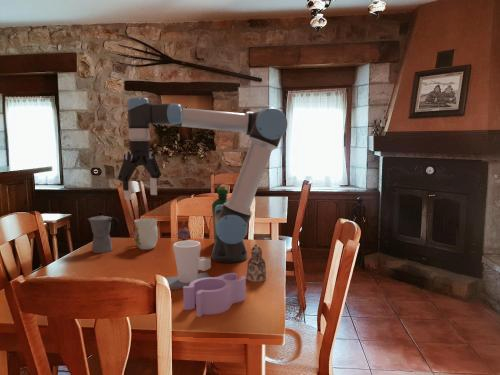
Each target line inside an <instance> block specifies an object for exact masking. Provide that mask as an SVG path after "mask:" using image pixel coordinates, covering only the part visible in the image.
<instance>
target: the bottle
mask: <svg viewBox="0 0 500 375" xmlns="http://www.w3.org/2000/svg"><path fill="white" fill-rule="evenodd" d="M216 193H217V196H218V198H217V199H215V200H213V202H212V204H211V210H212V211H211V212H212V214H211V215H212V225H213V226H212V227H213V228H212V229H213V240H214V243H215V241H216V232H215V207H216V206H217V205H224V203H226V202H228V201H229V200H230V198H229V199H228V198H227V197H228V194H229V191H228V188H227V187H226V185H219V188H217V191H216Z"/></svg>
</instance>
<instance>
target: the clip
mask: <svg viewBox="0 0 500 375" xmlns="http://www.w3.org/2000/svg"><path fill="white" fill-rule="evenodd" d="M238 276H239V275H238V272H229V273H228V272H227V273H224V274H221V275H218V276H213V277H211V276H210V277H207V278H200V279H197V280H194V281H192V282H191V283H190V284H189V286H184V287H183V288H182V291H183V292H182V294H183V295H182V296H183V311H185V310H187V311H188V310H193V309H194V310H195V309H196V317H198V318H199V317H202V316H203V315H217V314H222V313H224V312H227V311H228V310H230V308H231V306H232V305H233V304H236V303H241V302H243V301H245V300H246V299H247V298H246V297H247V296H246V295H247V292H246V291H247V289H246V284H247V283H246V280H247V276H245V275H241V276H240V278H238ZM195 306H196V307H195Z"/></svg>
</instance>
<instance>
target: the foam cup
mask: <svg viewBox="0 0 500 375" xmlns="http://www.w3.org/2000/svg"><path fill="white" fill-rule="evenodd" d="M201 244H202V243H201V242H200V241H197V240H192V239H191V240H189V239H188V240H187V239H186V240H185V241H183V240H180V241H175V242H174V243H173V246H172V247H173V252H174V259H175V264H176V270H177V276H178V278H179V281H180V282H183V283H190V282H192V281H194V280H197V274H199V270H198V265H199V258H200V254H201V250H202V249H201V248H202V246H201Z"/></svg>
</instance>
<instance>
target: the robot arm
mask: <svg viewBox="0 0 500 375" xmlns="http://www.w3.org/2000/svg"><path fill="white" fill-rule="evenodd" d="M127 123H128V124H127V125H128V139H129V140H130V141H128V150H129V152H130V153H124V154H123V160H122V164H121V167H120V171H119V173H118V176H117V180H118V181H120V182H122V190H123V194H124V196H123V197H124V200H128V201H129V200H132V181H130V179H131V177H132V176H133V174H134V172H135V171H136V169H137V167H139V166H143V167H144V168H145V169H146V171H147V173H148V174H149V176H150V178H149V188H150V190H149V192H150V195H151V196H158V185H159V184H158V179H159V178H160V177H161V176H162V172H161V170H160V167H159V164H158V162H157V159H156V153H155V152H150V151H151V142H150V139H151V136H150V135H151V134H150V125H165V126H167V127H184V128H185V127H186V128H195V129H205V130H216V131H227V132H235V133H237V132H238V133H243V134H244V135H245V136H248V139H249V140H250V145H249V147H248V150H247V152H246V155H245V158H244V160H243V163H242V166H241V168H240V171H239V174H238V176H237V179H236V182H235V184H234V186H233V189H232V193H231V195H230V197H229V201H228V202H226V203H224V205H217V206H216V207H215V232H216V241H215V242H214V245H213V248H212V251H211V259H212V260H213V261H214V262H217V263H225V264H227V263H228V264H231V263H238V262H240V263H241V262H243V261H246V259H247V258H248V251H247V247H246V245H245V242H244V239H245V237H246V235H247V233H248V225H249V222H250V220H251V217H252V214H253V213H252V211H251V207H252V204H253V202H254V199H255V196H256V193H257V190H258V188H259V186H260V183H261V180H262V178H263V175H264V172H265V170H266V168H267V166H268V165H267V164H268V162H269V160H270V157H271V153H272V151H275V150H276V149H277V148H278V147H279V145H280V142H281V139H282V137H283V136H284V135H285V133H286V132H287V130H288V119H287V116H286V114H285V113H284V112H283V111H282V110H280V109H278V108H275V107H266V108H264V109H262V110H260V111H259V110H258V111H246V112H245V113H241V112H232V111H231V112H229V111H218V110H209V109H208V110H207V109H199V108H198V109H197V108H190V107H189V108H187V107H182V105H181V104H180V103H173V102H172V103H150V101H149V99H148V98H147V97H130V98H129V99H128V100H127Z"/></svg>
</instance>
